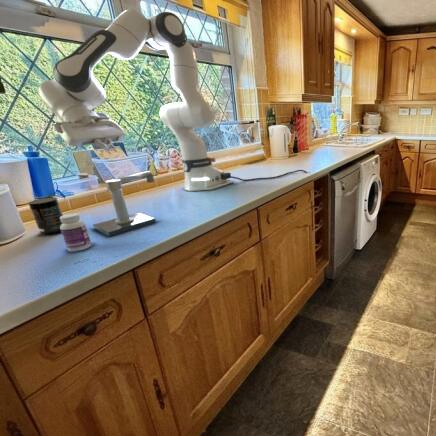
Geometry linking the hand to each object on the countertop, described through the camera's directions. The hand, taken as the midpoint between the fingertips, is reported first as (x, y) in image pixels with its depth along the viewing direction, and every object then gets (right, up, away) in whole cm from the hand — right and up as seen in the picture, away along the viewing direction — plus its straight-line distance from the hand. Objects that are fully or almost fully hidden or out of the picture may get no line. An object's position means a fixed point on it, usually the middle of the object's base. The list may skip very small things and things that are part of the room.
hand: (111, 150), depth 106 cm
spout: (+10, -14, -4) cm, 17 cm away
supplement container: (-12, -29, -9) cm, 32 cm away
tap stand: (+9, -27, -6) cm, 29 cm away
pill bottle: (+7, -33, -22) cm, 40 cm away
